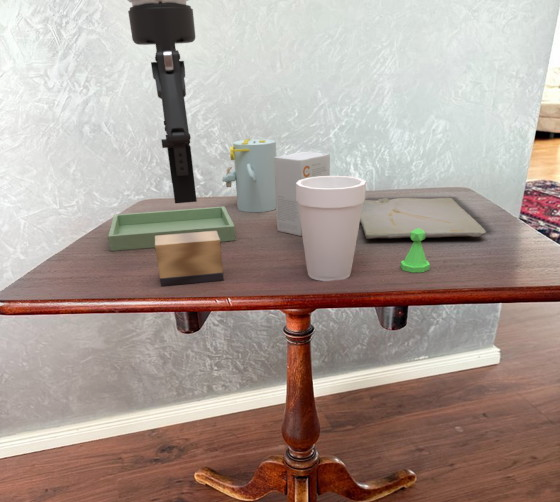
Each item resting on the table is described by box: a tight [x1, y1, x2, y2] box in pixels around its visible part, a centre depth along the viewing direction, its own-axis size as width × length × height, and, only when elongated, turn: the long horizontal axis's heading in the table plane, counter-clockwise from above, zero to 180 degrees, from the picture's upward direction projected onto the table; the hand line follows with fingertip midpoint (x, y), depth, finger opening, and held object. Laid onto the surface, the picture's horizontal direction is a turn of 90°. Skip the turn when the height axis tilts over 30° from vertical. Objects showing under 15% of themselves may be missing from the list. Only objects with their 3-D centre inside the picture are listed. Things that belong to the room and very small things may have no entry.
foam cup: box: [296, 175, 367, 282], centre depth 77 cm, size 10×9×13 cm
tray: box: [107, 206, 237, 252], centre depth 101 cm, size 22×16×3 cm
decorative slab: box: [360, 197, 487, 240], centre depth 103 cm, size 27×21×2 cm
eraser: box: [154, 231, 225, 287], centre depth 79 cm, size 9×5×6 cm, turn 101°
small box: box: [274, 151, 331, 237], centre depth 98 cm, size 8×6×13 cm
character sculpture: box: [221, 138, 277, 213], centre depth 114 cm, size 20×12×13 cm, turn 179°
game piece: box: [400, 228, 431, 273], centre depth 80 cm, size 4×4×6 cm
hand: (183, 191), depth 74 cm, fingers open, 13 cm apart
